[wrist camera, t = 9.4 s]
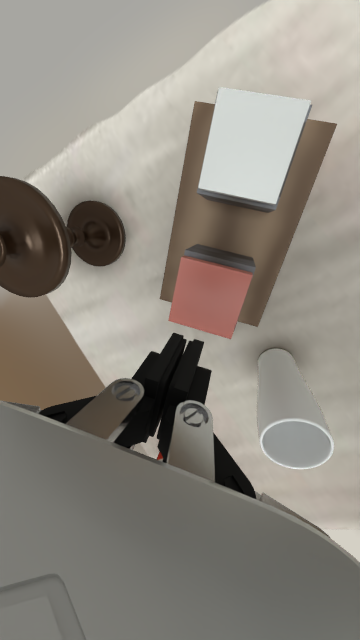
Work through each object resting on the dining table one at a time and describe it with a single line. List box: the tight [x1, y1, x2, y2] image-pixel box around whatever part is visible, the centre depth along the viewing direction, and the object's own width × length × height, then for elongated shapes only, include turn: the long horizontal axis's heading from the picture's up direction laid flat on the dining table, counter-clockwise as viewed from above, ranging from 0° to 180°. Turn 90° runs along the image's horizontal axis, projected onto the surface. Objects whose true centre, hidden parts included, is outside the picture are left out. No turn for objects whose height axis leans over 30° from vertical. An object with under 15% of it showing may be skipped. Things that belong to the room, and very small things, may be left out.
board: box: [160, 92, 337, 330], centre depth 26 cm, size 14×22×10 cm, turn 168°
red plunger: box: [168, 255, 253, 339], centre depth 25 cm, size 6×6×8 cm
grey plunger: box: [198, 87, 311, 205], centre depth 21 cm, size 6×6×8 cm
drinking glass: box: [257, 348, 334, 469], centre depth 29 cm, size 7×7×15 cm
